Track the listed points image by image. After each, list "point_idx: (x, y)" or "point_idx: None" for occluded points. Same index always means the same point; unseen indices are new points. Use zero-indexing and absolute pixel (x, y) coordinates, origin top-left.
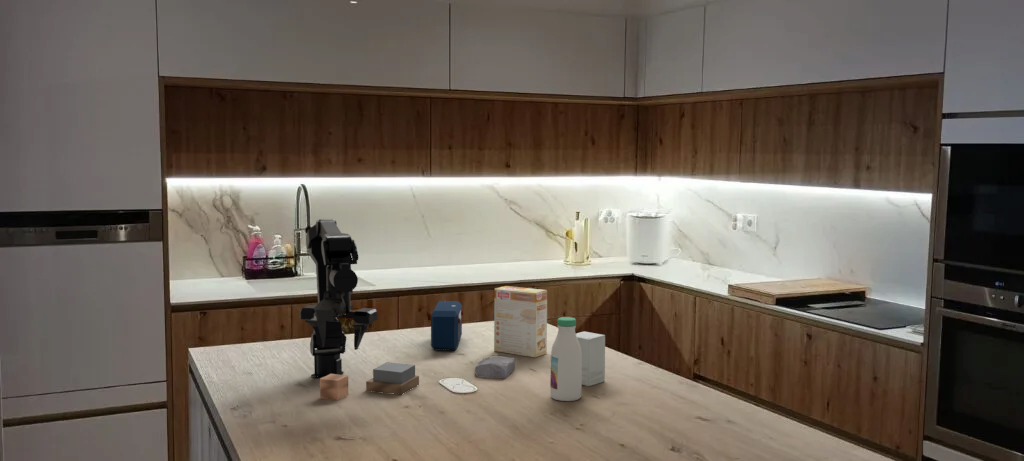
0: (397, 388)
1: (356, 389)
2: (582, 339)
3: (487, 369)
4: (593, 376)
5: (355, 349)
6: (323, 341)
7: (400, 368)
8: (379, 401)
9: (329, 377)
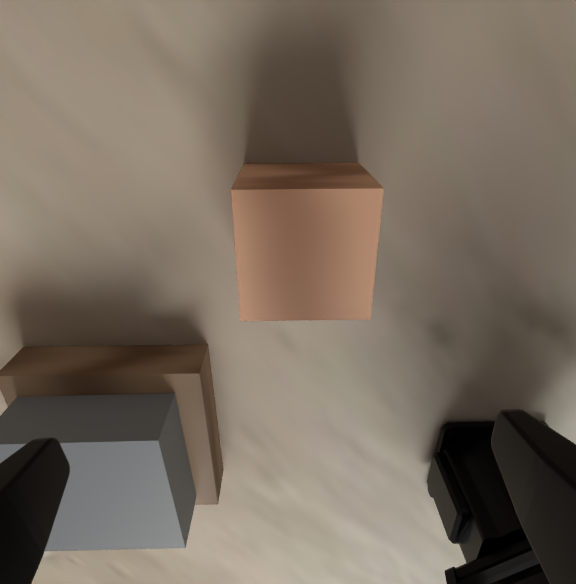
0: (27, 365)
1: (263, 349)
2: None
3: None
4: None
5: (39, 438)
6: (527, 488)
7: None
8: (34, 228)
9: (334, 242)
